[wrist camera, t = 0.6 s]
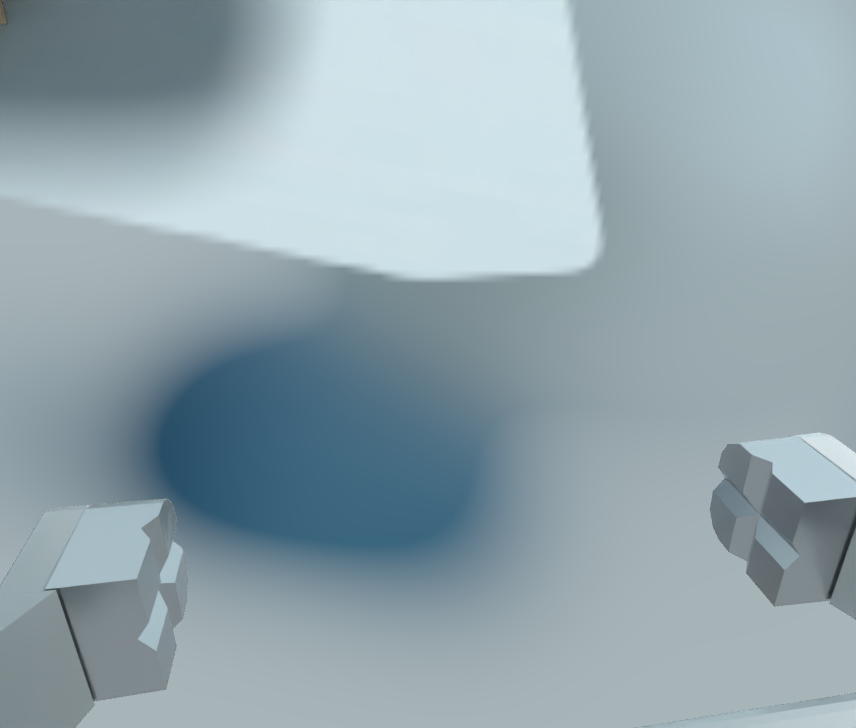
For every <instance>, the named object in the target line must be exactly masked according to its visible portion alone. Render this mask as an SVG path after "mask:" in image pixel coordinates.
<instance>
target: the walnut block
mask: <svg viewBox="0 0 856 728" xmlns="http://www.w3.org/2000/svg"><path fill="white" fill-rule="evenodd" d="M0 24H7V20H6V16H5V12H4V8H3V3H2V0H0Z"/></svg>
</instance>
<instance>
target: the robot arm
mask: <svg viewBox="0 0 856 728" xmlns="http://www.w3.org/2000/svg"><path fill="white" fill-rule="evenodd" d="M718 468H719V469H720V471H721V472H722V474H723V476H724V477H725V479H724V480H723V481H722V482H721V483H720V484H719V485H718V486H717V488H716V489H715V490H714V491H713V495H712V501H711V506H710V512H711V518H712V524H713V528H714V530H715V532H716V534H717V536H718V539H719V540H720V542H721V543H722V544H723V545H724V547H725V548H726V549H727V550H728V552H730V553H732V554H734V555H736V556H738V557H740V558H742V559H744V560H746V561H747V569H746V573H747V575H748V576H749V577H750V578H751V579H752V581H753V582H754V583H755V584H756V585H757V586H758V588H759V589H760V590H761V591H762V592H763V594H764V595H765V596H766V597H767V598H768V599H769V601H770V602H771V603H772V604H773V606H783V605H793V604H802V603H811V602H821V601H830V604H831V605H833V606H834V607H836V608H838V609H839V610H841V611H843V612H844V613H846V614H847V615H849V616H851V617H852V618H854V619H856V453H855V452H853V451H852V450H850V449H849V448H848V447H846V446H845V445H844V444H842V443H841V442H839V441H838V440H837V439H835V438H834V437H833V436H831V435H828V434H824V433H812V434H804V435H796V436H790V437H788V438H778V439H769V440H760V441H751V442H742V443H735V444H734V443H733V444H728V445H727V446H726V448H725V449H724V450H723V452H722V454H721V458H720V462H719V466H718ZM177 524H178V523H177V519H176V515H175V511H174V507H173V504H172V503H171V502H170V501H169V499H157V500H145V501H131V502H119V503H106V504H95V505H91V506H89V505H83V506H72V507H62V508H53V509H51V510H49V511H47V512H45V513H44V514H43V515H42V517H41V519H40V520H39V522H38V523H37V525H36V527H35V528H34V530H33V532H32V533H31V535H30V537H29V539H28V540H27V542H26V543H25V545H24V547H23V549H22V550H21V552H20V553H19V555H18V557H17V559H16V560H15V562H14V563H13V565H12V567H11V569H10V570H9V572H8V574H7V575H6V577H5V579H4V580H3V582H2V584H1V586H0V728H75V727H76V726H77V725H78V724H79V723H80V722H81V720H82V719H83V718H84V717H85V716H86V715H87V713H88V712H89V711H90V710H91V709H92V708H93V707H94V701H99V700H105V699H111V698H117V697H123V696H130V695H136V694H142V693H148V692H154V691H160V690H165V689H166V688H167V683H168V679H169V675H170V671H171V667H172V662H173V659H174V655H175V650H176V642H175V637H174V633H173V628H174V627H175V626H176V625H177V624H178V623H179V622H180V621H181V620H182V619H183V616H184V611H185V606H186V602H187V585H188V577H187V566H186V560H185V555H184V550H183V549H182V548H181V547H180V546H179V545H177V544H176V543H175V542H174V541H173V538H174V535H175V531H176V528H177ZM636 728H856V693H851V694H844V695H838V696H832V697H825V698H820V699H813V700H807V701H800V702H794V703H788V704H781V705H775V706H768V707H762V708H756V709H749V710H743V711H737V712H731V713H725V714H718V715H712V716H705V717H699V718H693V719H687V720H680V721H674V722H668V723H662V724H655V725H649V726H643V727H636Z"/></svg>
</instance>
